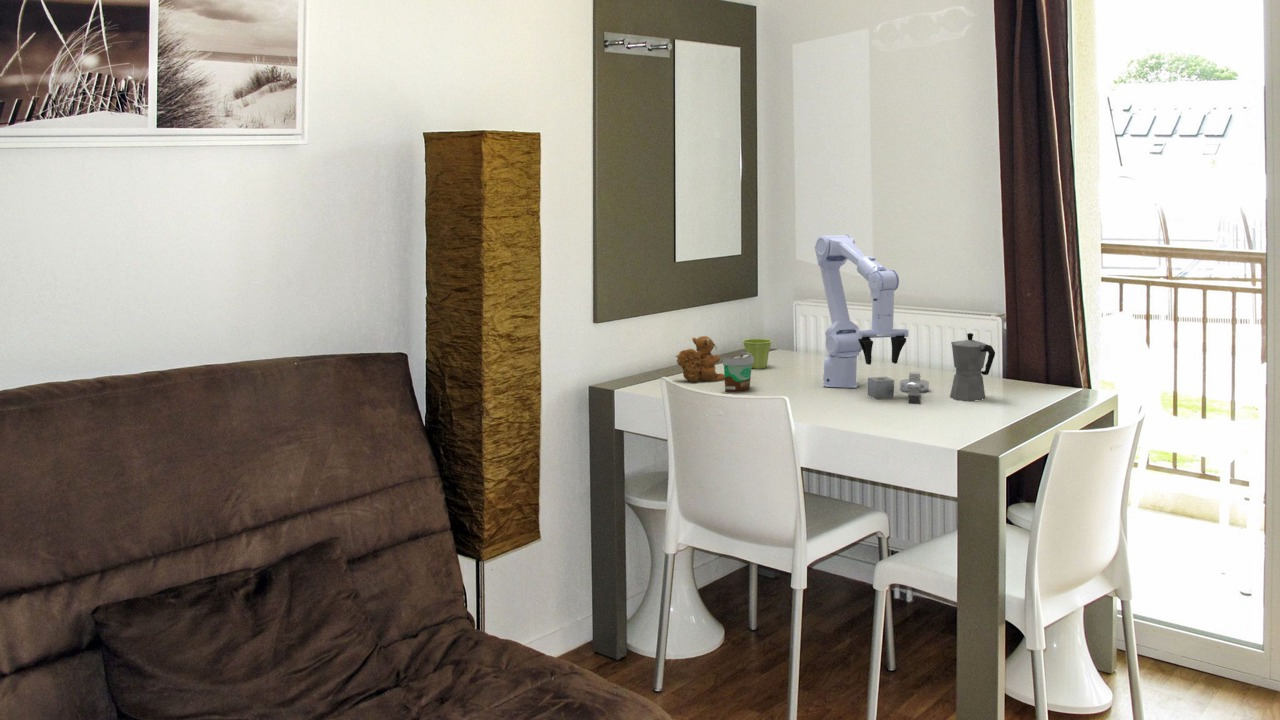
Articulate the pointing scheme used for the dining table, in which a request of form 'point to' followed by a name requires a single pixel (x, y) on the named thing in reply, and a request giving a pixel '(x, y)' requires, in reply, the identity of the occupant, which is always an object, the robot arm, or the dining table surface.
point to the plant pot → (758, 351)
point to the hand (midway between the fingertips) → (881, 363)
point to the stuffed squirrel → (700, 361)
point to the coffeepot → (970, 368)
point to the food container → (738, 372)
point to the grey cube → (880, 387)
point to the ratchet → (914, 386)
